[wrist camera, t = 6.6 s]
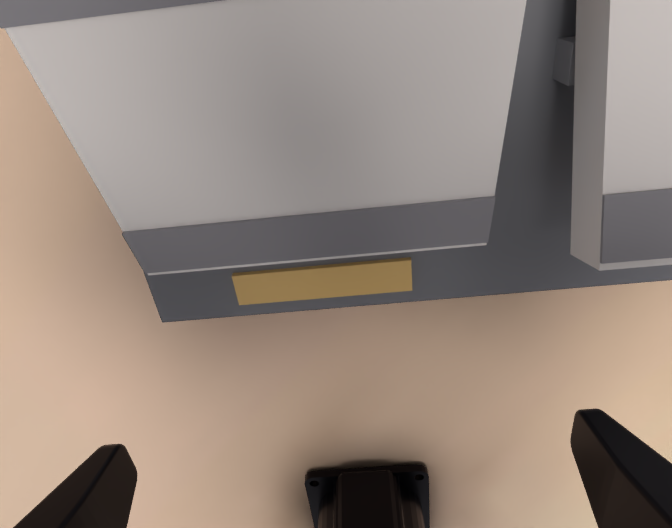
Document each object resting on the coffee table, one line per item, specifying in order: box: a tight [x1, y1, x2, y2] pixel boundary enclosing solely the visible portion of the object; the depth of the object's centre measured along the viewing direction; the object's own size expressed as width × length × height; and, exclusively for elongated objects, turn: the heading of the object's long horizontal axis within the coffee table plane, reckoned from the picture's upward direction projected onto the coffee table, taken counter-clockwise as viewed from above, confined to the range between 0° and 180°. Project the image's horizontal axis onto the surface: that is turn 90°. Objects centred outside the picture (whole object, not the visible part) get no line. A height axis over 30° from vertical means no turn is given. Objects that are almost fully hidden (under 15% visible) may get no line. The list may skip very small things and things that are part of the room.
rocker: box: [0, 0, 527, 276], centre depth 11 cm, size 9×10×2 cm
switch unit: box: [144, 0, 672, 322], centre depth 14 cm, size 15×24×4 cm, turn 96°
